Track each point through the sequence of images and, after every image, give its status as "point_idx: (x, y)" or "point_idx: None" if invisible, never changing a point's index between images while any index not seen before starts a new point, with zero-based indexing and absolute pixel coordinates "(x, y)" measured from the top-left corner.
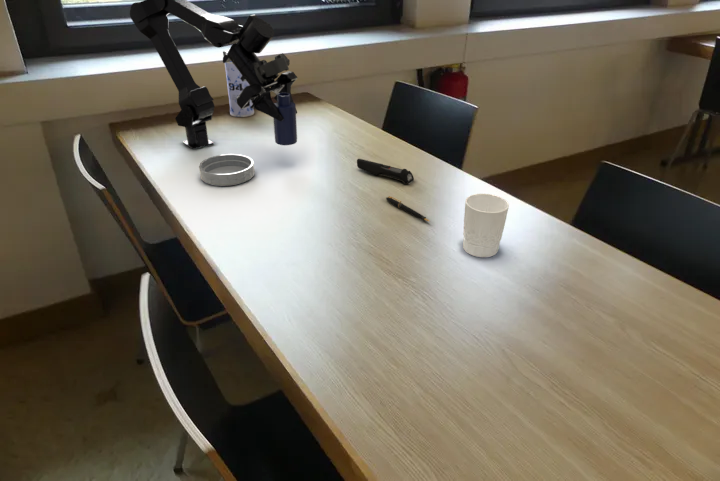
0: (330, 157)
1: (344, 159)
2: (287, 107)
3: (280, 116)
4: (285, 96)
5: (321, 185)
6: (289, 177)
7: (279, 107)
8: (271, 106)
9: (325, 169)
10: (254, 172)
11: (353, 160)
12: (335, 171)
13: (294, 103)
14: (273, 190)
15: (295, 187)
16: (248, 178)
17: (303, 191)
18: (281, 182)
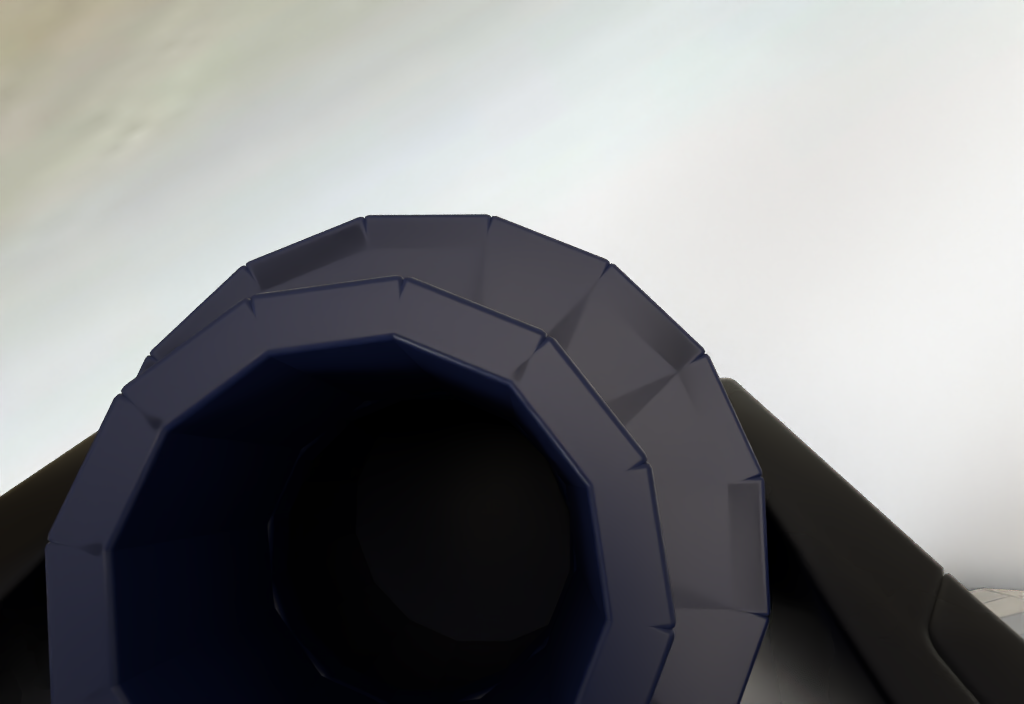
0: (158, 242)
1: (147, 112)
2: (612, 292)
3: (774, 416)
4: (553, 338)
5: (724, 7)
6: (730, 318)
7: (738, 494)
8: (1012, 647)
9: (425, 142)
10: None
11: (134, 35)
12: (422, 49)
13: (179, 338)
14: (1018, 285)
15: (869, 162)
16: (1018, 591)
17: (895, 68)
18: (852, 318)
